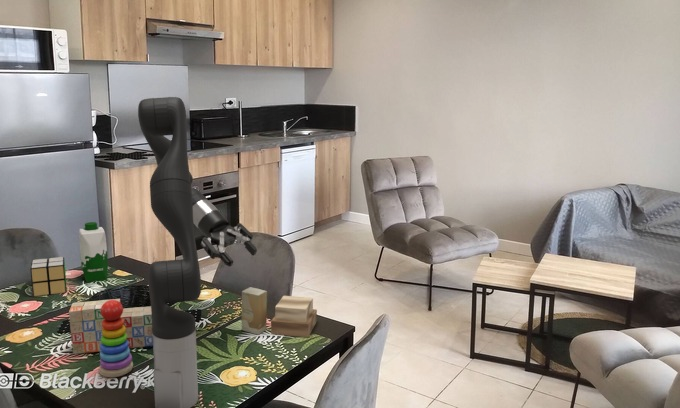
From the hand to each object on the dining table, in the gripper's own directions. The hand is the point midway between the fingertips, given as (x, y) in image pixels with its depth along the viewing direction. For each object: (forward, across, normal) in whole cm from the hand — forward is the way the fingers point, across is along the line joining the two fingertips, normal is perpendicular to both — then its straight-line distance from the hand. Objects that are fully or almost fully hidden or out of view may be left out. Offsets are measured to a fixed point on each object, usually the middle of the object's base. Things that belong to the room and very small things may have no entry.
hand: (243, 258), depth 157 cm
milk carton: (-51, -6, +64) cm, 82 cm away
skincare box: (+12, +2, +22) cm, 25 cm away
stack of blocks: (-8, -29, +30) cm, 42 cm away
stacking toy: (+2, -36, +22) cm, 42 cm away
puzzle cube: (-52, -22, +62) cm, 84 cm away
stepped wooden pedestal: (+19, +11, +18) cm, 28 cm away
